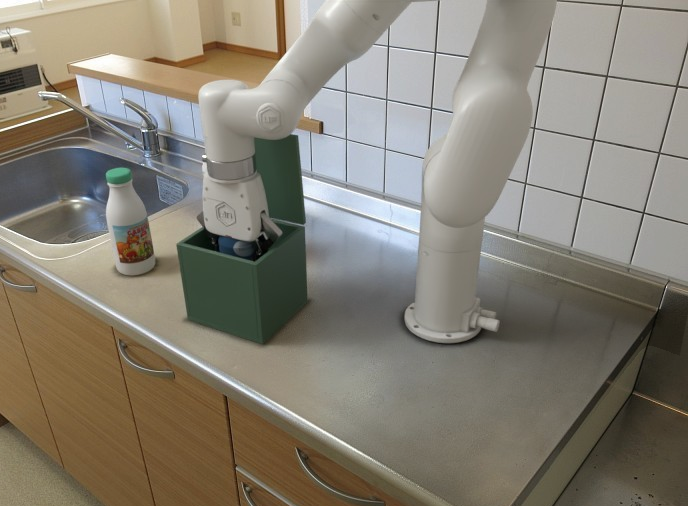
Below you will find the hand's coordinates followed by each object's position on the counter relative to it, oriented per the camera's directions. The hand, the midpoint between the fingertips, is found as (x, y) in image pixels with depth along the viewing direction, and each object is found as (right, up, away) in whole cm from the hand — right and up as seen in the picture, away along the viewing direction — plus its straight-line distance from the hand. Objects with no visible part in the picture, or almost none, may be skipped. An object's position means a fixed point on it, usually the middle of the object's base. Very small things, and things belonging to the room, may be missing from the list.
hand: (242, 266), depth 112 cm
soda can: (0, -4, +3) cm, 5 cm away
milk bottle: (-23, +1, +21) cm, 31 cm away
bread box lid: (+3, +15, -2) cm, 15 cm away
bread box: (+1, -8, +6) cm, 10 cm away
